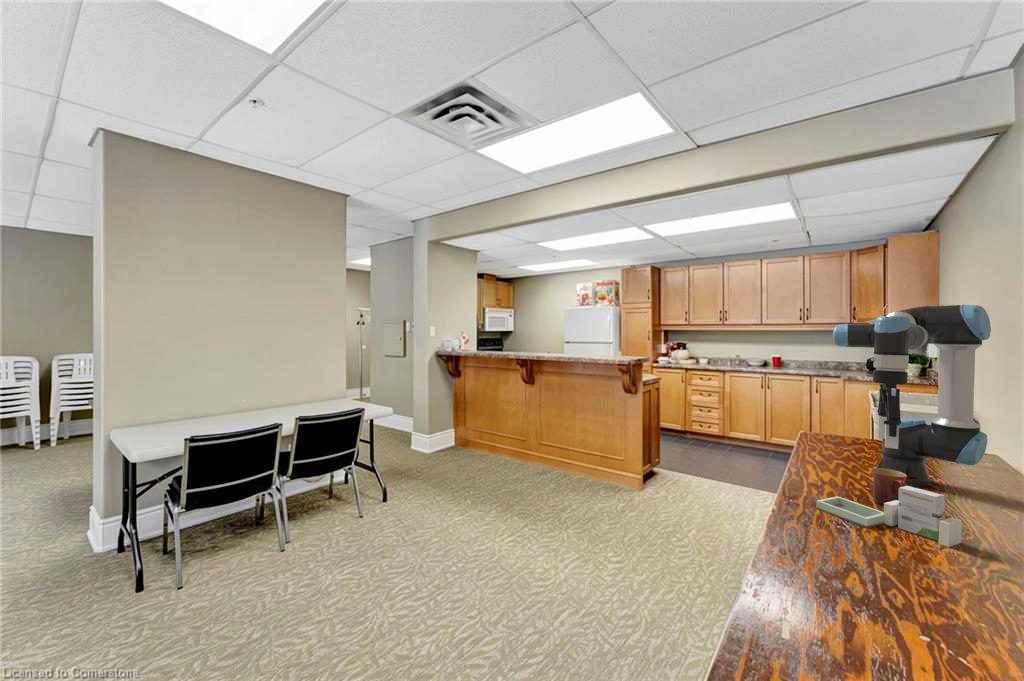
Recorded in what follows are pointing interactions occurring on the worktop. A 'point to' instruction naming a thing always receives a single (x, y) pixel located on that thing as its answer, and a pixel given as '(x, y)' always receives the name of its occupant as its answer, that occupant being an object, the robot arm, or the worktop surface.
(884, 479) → the mug
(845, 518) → the pale green tray
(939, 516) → the ink box
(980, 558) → the worktop surface
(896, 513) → the white block pair
